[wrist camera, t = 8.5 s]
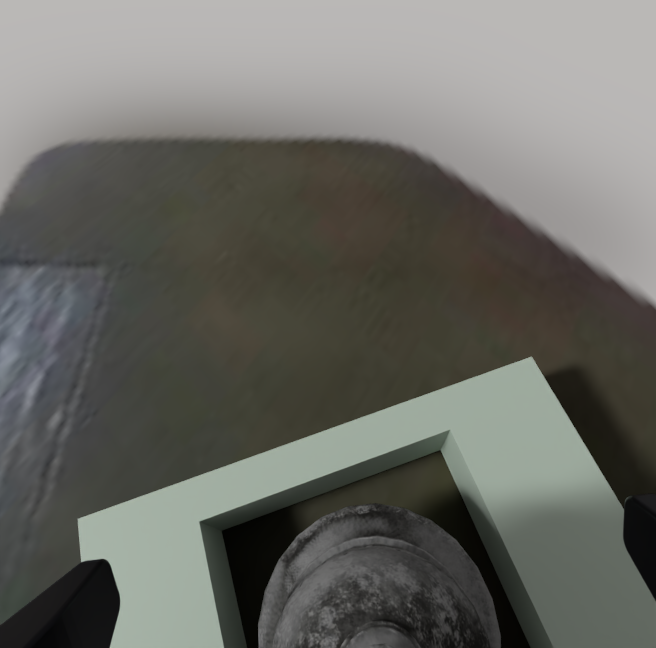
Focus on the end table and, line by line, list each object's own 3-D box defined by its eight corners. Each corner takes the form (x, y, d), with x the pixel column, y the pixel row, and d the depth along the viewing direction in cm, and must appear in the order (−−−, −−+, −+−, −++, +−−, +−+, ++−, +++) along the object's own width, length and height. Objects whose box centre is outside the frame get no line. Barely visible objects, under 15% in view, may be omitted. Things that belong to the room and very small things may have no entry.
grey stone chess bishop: (287, 517, 17) (147, 394, 6) (464, 522, 16) (630, 396, 6) (272, 738, 14) (-21, 1168, 4) (485, 752, 14) (870, 1301, 3)
